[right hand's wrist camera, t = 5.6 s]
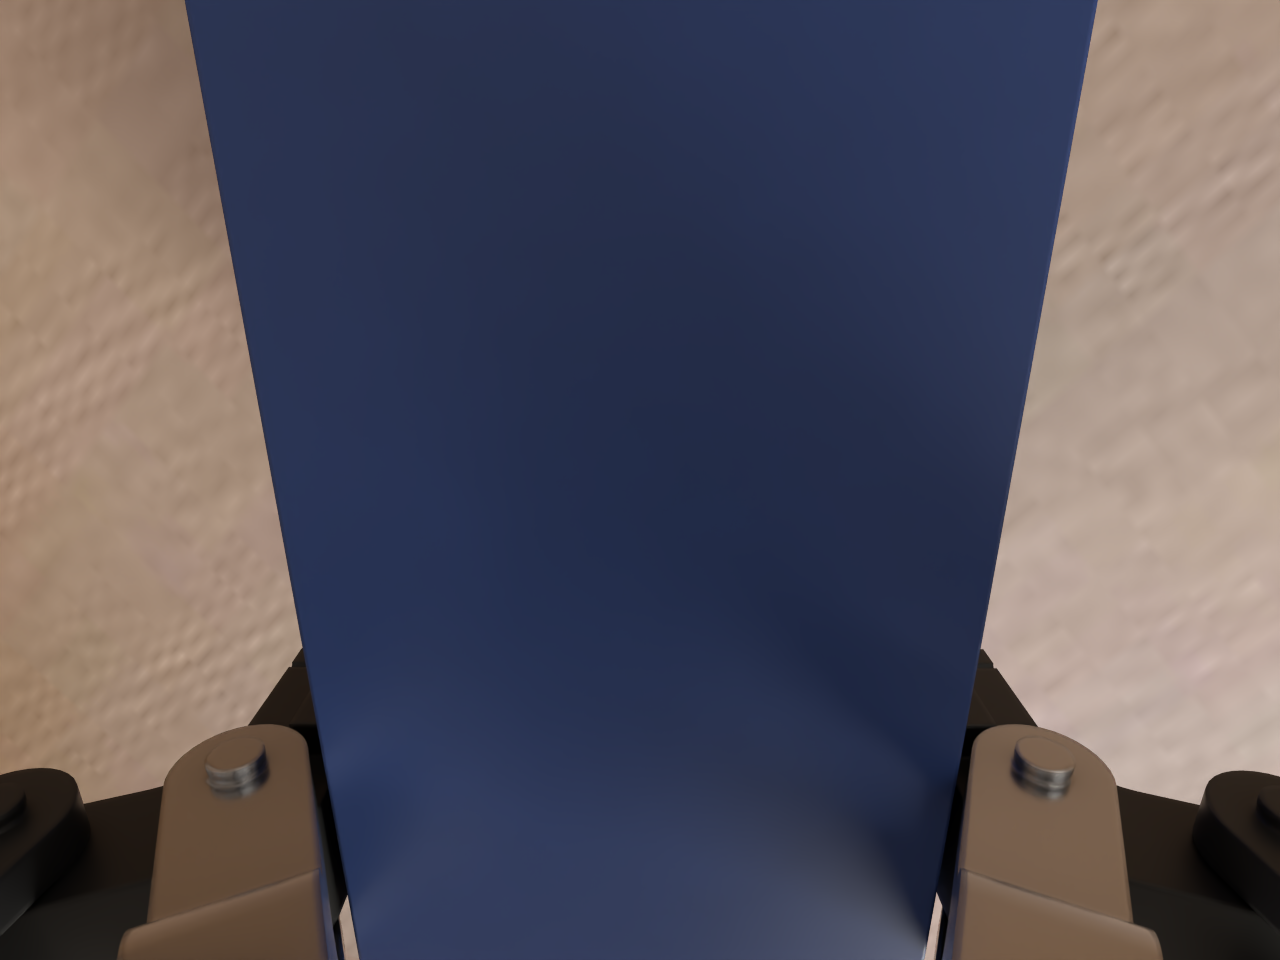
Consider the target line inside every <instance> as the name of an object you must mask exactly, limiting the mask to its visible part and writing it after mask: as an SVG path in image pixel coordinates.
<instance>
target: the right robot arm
mask: <svg viewBox="0 0 1280 960" xmlns="http://www.w3.org/2000/svg"><path fill="white" fill-rule="evenodd" d="M937 894H938V896H939V899H940V901H941V904H942V910H941V916H940V921H939V926H938V932H937V939H936V946H935V954H934V960H1280V777H1279V776H1275V775H1271V774H1267V773H1261V772H1255V771H1230V772H1225V773H1221V774H1219V775H1217V776H1214V777H1213V778H1212V779H1211V780H1210V781H1209V782H1208V784H1207V786H1206V789H1205V792H1204V795H1203V798H1202V801H1201V804H1200V805H1196V804H1192V803H1187V802H1183V801H1178V800H1174V799H1169V798H1165V797H1160V796H1156V795H1151V794H1146V793H1142V792H1137V791H1134V790H1130V789H1126V788H1123V787H1120V786H1117V785H1116V782H1115V778H1114V777H1113V775H1112V773H1111V771H1110V770H1109V768H1108V767H1107V766H1106V764H1105V763H1104V762H1103V761H1102V760H1101V759H1100V758H1099V757H1098V756H1097V755H1096V754H1094V753H1093V752H1092V751H1090V750H1089V749H1088V748H1086V747H1085V746H1083V745H1081V744H1080V743H1078V742H1077V741H1075V740H1072V739H1070V738H1068V737H1066V736H1064V735H1062V734H1059V733H1057V732H1054V731H1051V730H1047V729H1044V728H1040V727H1038V726H1037V725H1036V723H1035V722H1034V721H1033V719H1032V718H1031V716H1030V715H1029V713H1028V712H1027V711H1026V709H1025V708H1024V706H1023V705H1022V704H1021V702H1020V701H1019V699H1018V698H1017V696H1016V695H1015V694H1014V692H1013V691H1012V689H1011V688H1010V687H1009V685H1008V684H1007V682H1006V681H1005V679H1004V678H1003V677H1002V675H1001V674H1000V672H999V671H998V670H997V668H993V662H992V661H991V660H990V658H989V657H988V655H987V654H986V653H985V651H984V650H983V649H980V654H979V659H978V665H977V670H976V676H975V682H974V687H973V693H972V698H971V704H970V709H969V715H968V720H967V726H966V731H965V737H964V742H963V748H962V753H961V759H960V764H959V770H958V776H957V781H956V787H955V792H954V798H953V803H952V809H951V814H950V820H949V825H948V831H947V836H946V842H945V847H944V853H943V859H942V864H941V870H940V875H939V881H938V886H937ZM347 895H348V894H347V888H346V883H345V877H344V872H343V866H342V861H341V855H340V850H339V844H338V839H337V833H336V828H335V822H334V817H333V811H332V806H331V800H330V795H329V789H328V784H327V778H326V773H325V767H324V762H323V756H322V751H321V745H320V740H319V734H318V729H317V723H316V718H315V712H314V707H313V701H312V696H311V690H310V685H309V679H308V674H307V669H306V663H305V658H304V652H303V648H302V649H301V650H300V652H299V653H298V655H297V656H296V658H295V659H294V660H293V662H292V667H289V668H288V669H287V670H286V672H285V673H284V675H283V676H282V678H281V679H280V681H279V682H278V683H277V685H276V686H275V688H274V689H273V691H272V692H271V693H270V695H269V696H268V698H267V699H266V701H265V702H264V703H263V705H262V706H261V708H260V709H259V711H258V712H257V713H256V715H255V716H254V718H253V719H252V721H251V722H250V724H249V725H248V726H245V727H240V728H236V729H233V730H229V731H226V732H223V733H221V734H218V735H216V736H214V737H212V738H210V739H208V740H206V741H203V742H202V743H200V744H199V745H197V746H195V747H194V748H192V749H191V750H190V751H188V752H187V753H186V754H184V755H183V756H182V757H181V758H180V759H179V760H178V761H177V762H176V763H175V764H174V766H173V767H172V768H171V770H170V771H169V773H168V775H167V777H166V779H165V782H164V786H161V787H158V788H154V789H150V790H146V791H141V792H137V793H132V794H127V795H123V796H118V797H114V798H109V799H105V800H100V801H96V802H91V803H86V804H83V801H82V798H81V795H80V792H79V789H78V786H77V783H76V781H75V780H74V778H73V777H72V776H70V775H69V774H68V773H66V772H63V771H61V770H56V769H50V768H35V769H25V770H19V771H14V772H10V773H6V774H2V775H0V960H346V954H345V946H344V939H343V932H342V926H341V921H340V916H339V915H340V912H341V910H342V907H343V905H344V902H345V900H346V897H347Z"/></svg>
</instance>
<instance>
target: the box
mask: <svg viewBox="0 0 1280 960" xmlns="http://www.w3.org/2000/svg"><path fill="white" fill-rule="evenodd" d="M1097 1H1098V0H185V4H186V10H187V15H188V21H189V26H190V32H191V37H192V43H193V48H194V54H195V59H196V65H197V70H198V76H199V81H200V87H201V92H202V97H203V103H204V108H205V114H206V119H207V125H208V130H209V136H210V141H211V147H212V152H213V158H214V163H215V169H216V174H217V180H218V185H219V191H220V196H221V202H222V207H223V213H224V218H225V224H226V229H227V235H228V240H229V246H230V251H231V257H232V262H233V268H234V273H235V279H236V284H237V290H238V295H239V301H240V306H241V312H242V317H243V323H244V328H245V334H246V339H247V345H248V350H249V356H250V361H251V367H252V372H253V378H254V383H255V388H256V394H257V399H258V405H259V410H260V416H261V421H262V427H263V432H264V438H265V443H266V449H267V454H268V460H269V465H270V471H271V476H272V482H273V487H274V493H275V498H276V504H277V509H278V515H279V520H280V526H281V531H282V537H283V542H284V548H285V553H286V559H287V564H288V570H289V575H290V581H291V586H292V592H293V597H294V603H295V608H296V614H297V619H298V625H299V630H300V636H301V641H302V647H303V652H304V658H305V663H306V669H307V674H308V679H309V685H310V690H311V696H312V701H313V707H314V712H315V718H316V723H317V729H318V734H319V740H320V745H321V751H322V756H323V762H324V767H325V773H326V778H327V784H328V789H329V795H330V800H331V806H332V811H333V817H334V822H335V828H336V833H337V839H338V844H339V850H340V855H341V861H342V866H343V872H344V877H345V883H346V888H347V894H348V899H349V905H350V910H351V916H352V921H353V927H354V932H355V938H356V943H357V949H358V954H359V960H924V958H925V953H926V947H927V941H928V936H929V930H930V925H931V919H932V914H933V908H934V903H935V897H936V892H937V886H938V881H939V875H940V870H941V864H942V859H943V853H944V847H945V842H946V836H947V831H948V825H949V820H950V814H951V809H952V803H953V798H954V792H955V787H956V781H957V776H958V770H959V764H960V759H961V753H962V748H963V742H964V737H965V731H966V726H967V720H968V715H969V709H970V704H971V698H972V693H973V687H974V682H975V676H976V670H977V665H978V659H979V654H980V648H981V643H982V637H983V632H984V626H985V621H986V615H987V610H988V604H989V599H990V593H991V588H992V582H993V576H994V571H995V565H996V560H997V554H998V549H999V543H1000V538H1001V532H1002V527H1003V521H1004V516H1005V510H1006V505H1007V499H1008V493H1009V488H1010V482H1011V477H1012V471H1013V466H1014V460H1015V455H1016V449H1017V444H1018V438H1019V433H1020V427H1021V422H1022V416H1023V411H1024V405H1025V399H1026V394H1027V388H1028V383H1029V377H1030V372H1031V366H1032V361H1033V355H1034V350H1035V344H1036V339H1037V333H1038V328H1039V322H1040V316H1041V311H1042V305H1043V300H1044V294H1045V289H1046V283H1047V278H1048V272H1049V267H1050V261H1051V256H1052V250H1053V245H1054V239H1055V234H1056V228H1057V222H1058V217H1059V211H1060V206H1061V200H1062V195H1063V189H1064V184H1065V178H1066V173H1067V167H1068V162H1069V156H1070V151H1071V145H1072V140H1073V134H1074V128H1075V123H1076V117H1077V112H1078V106H1079V101H1080V95H1081V90H1082V84H1083V79H1084V73H1085V68H1086V62H1087V57H1088V51H1089V45H1090V40H1091V34H1092V29H1093V23H1094V18H1095V12H1096V7H1097Z"/></svg>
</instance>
